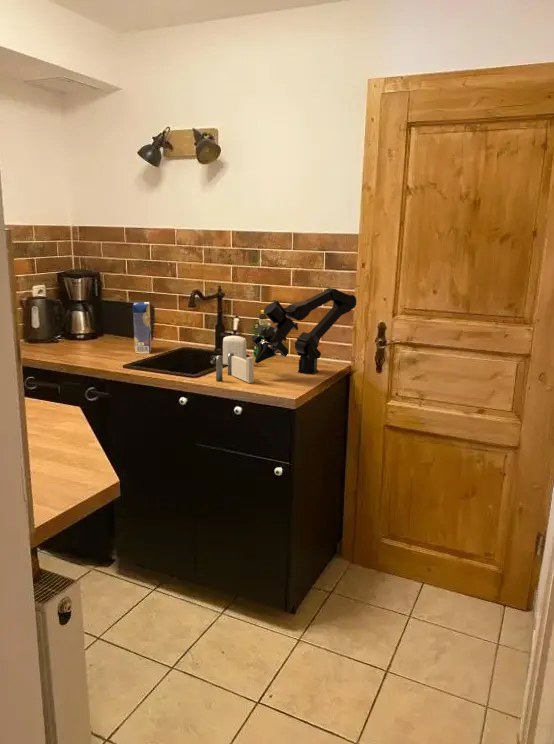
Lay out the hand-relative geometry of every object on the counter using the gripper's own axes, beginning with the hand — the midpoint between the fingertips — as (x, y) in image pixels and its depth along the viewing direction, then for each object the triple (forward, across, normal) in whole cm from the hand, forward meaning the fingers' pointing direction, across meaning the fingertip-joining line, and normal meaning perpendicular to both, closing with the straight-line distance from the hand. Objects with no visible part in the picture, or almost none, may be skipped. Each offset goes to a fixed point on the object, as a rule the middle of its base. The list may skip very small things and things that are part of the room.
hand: (255, 362), depth 214 cm
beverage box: (+17, -71, -8) cm, 74 cm away
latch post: (+14, -5, -4) cm, 15 cm away
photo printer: (+1, -26, +9) cm, 27 cm away
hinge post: (+8, -12, +2) cm, 14 cm away
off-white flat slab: (+8, -3, +1) cm, 8 cm away
